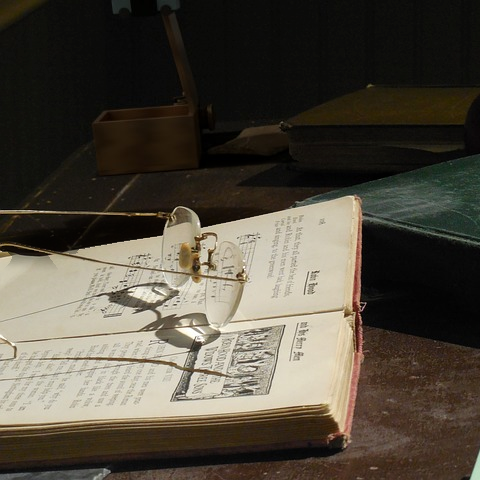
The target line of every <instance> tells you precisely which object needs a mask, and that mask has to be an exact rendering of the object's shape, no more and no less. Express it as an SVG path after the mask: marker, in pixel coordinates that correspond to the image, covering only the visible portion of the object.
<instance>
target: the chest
mask: <svg viewBox="0 0 480 480" xmlns="http://www.w3.org/2000/svg"><path fill="white" fill-rule="evenodd" d="M91 125H92V126H91V127H92V134H93V140H94V148H95V154H96V163H97V169H98V170H97V171H98V176H99V177H103V176H114V175H127V174H139V173H141V174H142V173H152V172H153V173H154V172H164V171H177V170H179V171H180V170H189V169H190V170H191V169H199V167H200V163H201V159H202V154H203V150H202V148H201V144H202V138H201V137H200V127H199V118H198V108H196V111H195V112H192V113H190V111H189V108H188V105H175V106H174V105H162V106H150V107H138V108H137V107H135V108H122V109H111V110H110V109H109V110H103V111H102V112H101V113H100V114H99V115H98V116H97V117H96V119H94V121H93V122H92V123H91Z"/></svg>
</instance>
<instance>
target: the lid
mask: <svg viewBox="0 0 480 480" xmlns="http://www.w3.org/2000/svg"><path fill="white" fill-rule="evenodd" d="M161 16H162V21H163V24H164V28H165V31H166V34H167V37H168V41H169V45H170V48H171V52H172V55H173V59H174V63H175V65H176V70H177V73H178V76H179V80H180V83H181V86H182V90H183V92H184V94H185V97H186V101H187V104H188V108H189V111H190V113H192V112H195V111H196V108H197V105H198V102H199V100H200V99H199V98H200V96H199V93H198V90H197V87H196V83H195V79H194V76H193V72H192V69H191V66H190V61H189V58H188V55H187V51H186V48H185V44H184V40H183V36H182V33H181V31H180V26H179V23H178V19H177V16H176V11H174V12H173V13H172V14H170V15H169V16H163V15H162V14H161ZM198 96H199V97H198Z"/></svg>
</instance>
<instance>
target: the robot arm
mask: <svg viewBox="0 0 480 480" xmlns="http://www.w3.org/2000/svg"><path fill="white" fill-rule="evenodd" d="M130 4H131V13H132V16H131V17H133V18H144V17H145V18H146V17H155V16H158V14H161V12H160V11H158V9H157V0H130Z"/></svg>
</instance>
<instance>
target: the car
mask: <svg viewBox="0 0 480 480" xmlns="http://www.w3.org/2000/svg"><path fill="white" fill-rule="evenodd" d="M111 5H112V13H113V15H118V16H119V17H120V19H122V20H127V19H129V18H132V17H133V16H132V13H131V4H130V0H111ZM180 8H181V4H180V0H157V9H158V11H160V12H161V13H160V14H161V16H162V15H163V16H169V15H170V14H172V13H173V12H176V11H177V10H179V9H180Z"/></svg>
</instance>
